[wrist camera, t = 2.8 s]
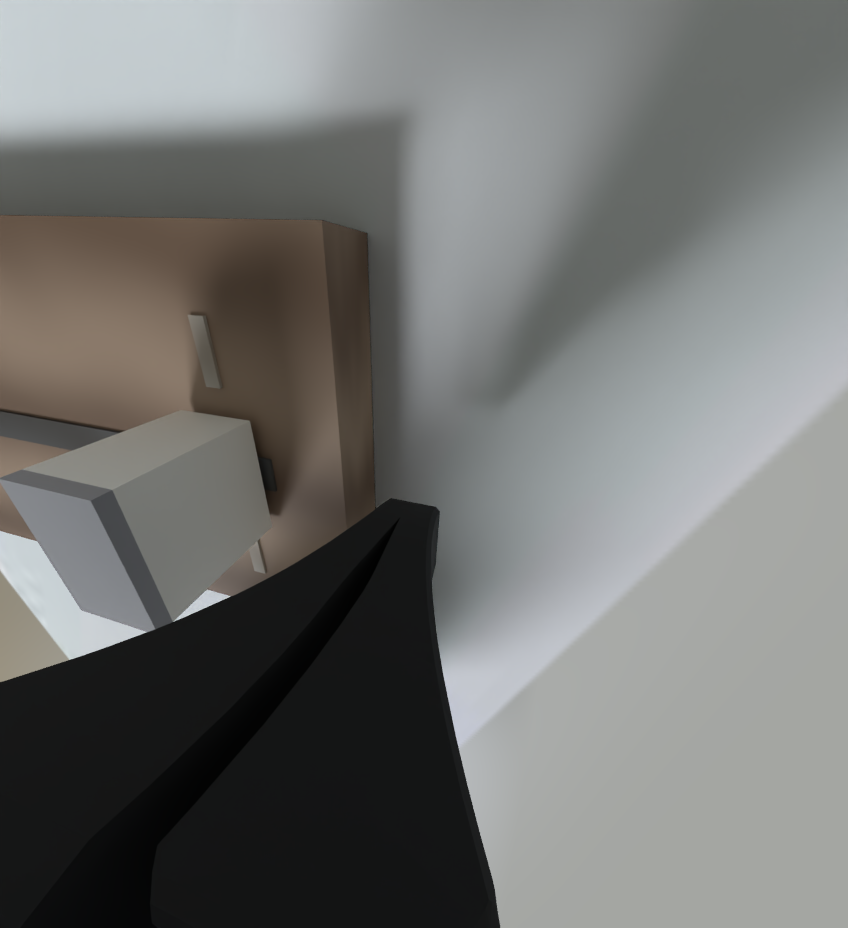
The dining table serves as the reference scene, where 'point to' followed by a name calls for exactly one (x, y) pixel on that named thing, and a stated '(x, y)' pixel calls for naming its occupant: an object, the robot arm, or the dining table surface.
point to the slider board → (195, 355)
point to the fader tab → (147, 514)
